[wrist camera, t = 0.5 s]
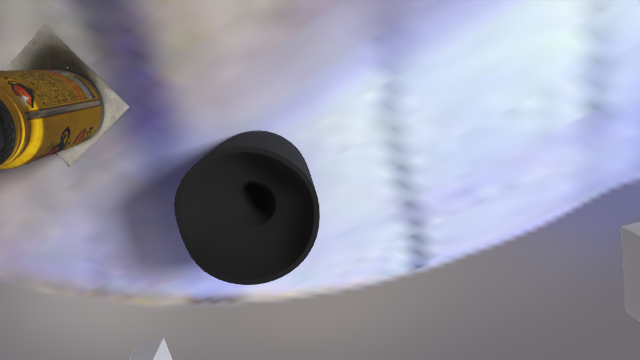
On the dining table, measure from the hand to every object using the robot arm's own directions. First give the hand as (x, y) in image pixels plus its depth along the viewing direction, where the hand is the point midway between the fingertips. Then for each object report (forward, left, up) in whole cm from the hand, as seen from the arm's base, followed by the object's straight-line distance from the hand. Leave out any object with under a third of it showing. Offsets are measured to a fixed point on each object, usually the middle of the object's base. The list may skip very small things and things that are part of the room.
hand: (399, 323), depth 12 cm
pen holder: (+1, -6, -26) cm, 27 cm away
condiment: (-9, -20, -26) cm, 34 cm away
